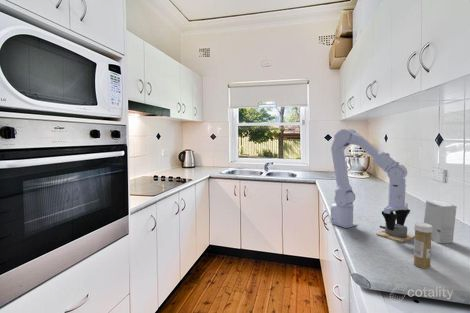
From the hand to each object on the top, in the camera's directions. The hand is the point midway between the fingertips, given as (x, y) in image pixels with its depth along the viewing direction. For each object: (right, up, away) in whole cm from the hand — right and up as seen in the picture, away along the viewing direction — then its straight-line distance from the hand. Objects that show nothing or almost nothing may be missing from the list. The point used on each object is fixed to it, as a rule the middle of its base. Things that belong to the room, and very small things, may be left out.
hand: (395, 227), depth 106 cm
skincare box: (+14, -4, -4) cm, 15 cm away
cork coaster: (0, -3, 0) cm, 3 cm away
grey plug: (0, -3, +1) cm, 3 cm away
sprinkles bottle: (-6, -6, -24) cm, 25 cm away
